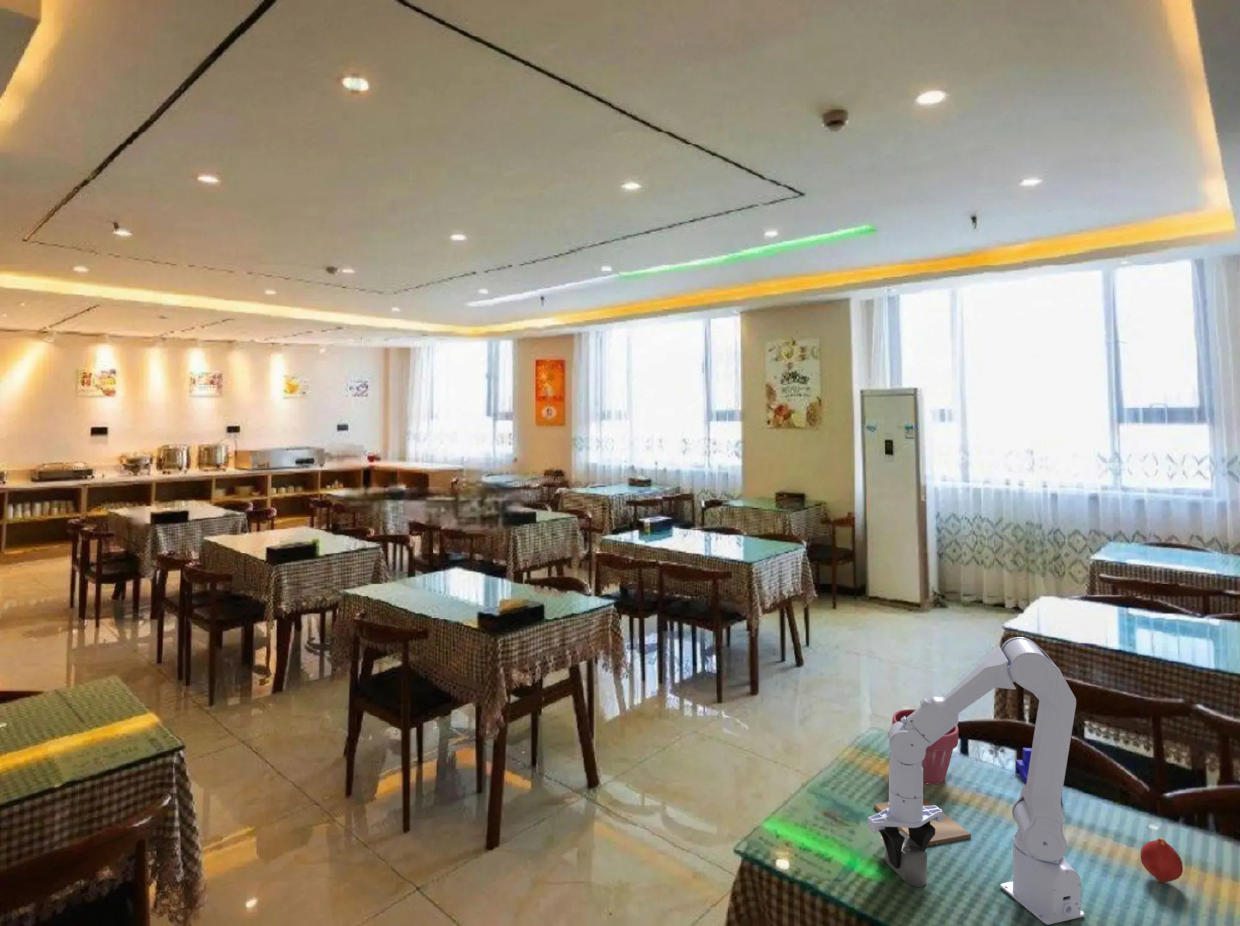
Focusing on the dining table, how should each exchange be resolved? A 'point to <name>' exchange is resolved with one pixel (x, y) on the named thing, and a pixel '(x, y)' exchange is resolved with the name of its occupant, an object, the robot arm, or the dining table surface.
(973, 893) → the dining table surface
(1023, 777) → the cable clip
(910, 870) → the grey rounded bottle
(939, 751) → the plant pot
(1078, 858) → the dining table surface
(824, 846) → the dining table surface
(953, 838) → the walnut pad
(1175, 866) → the onion
